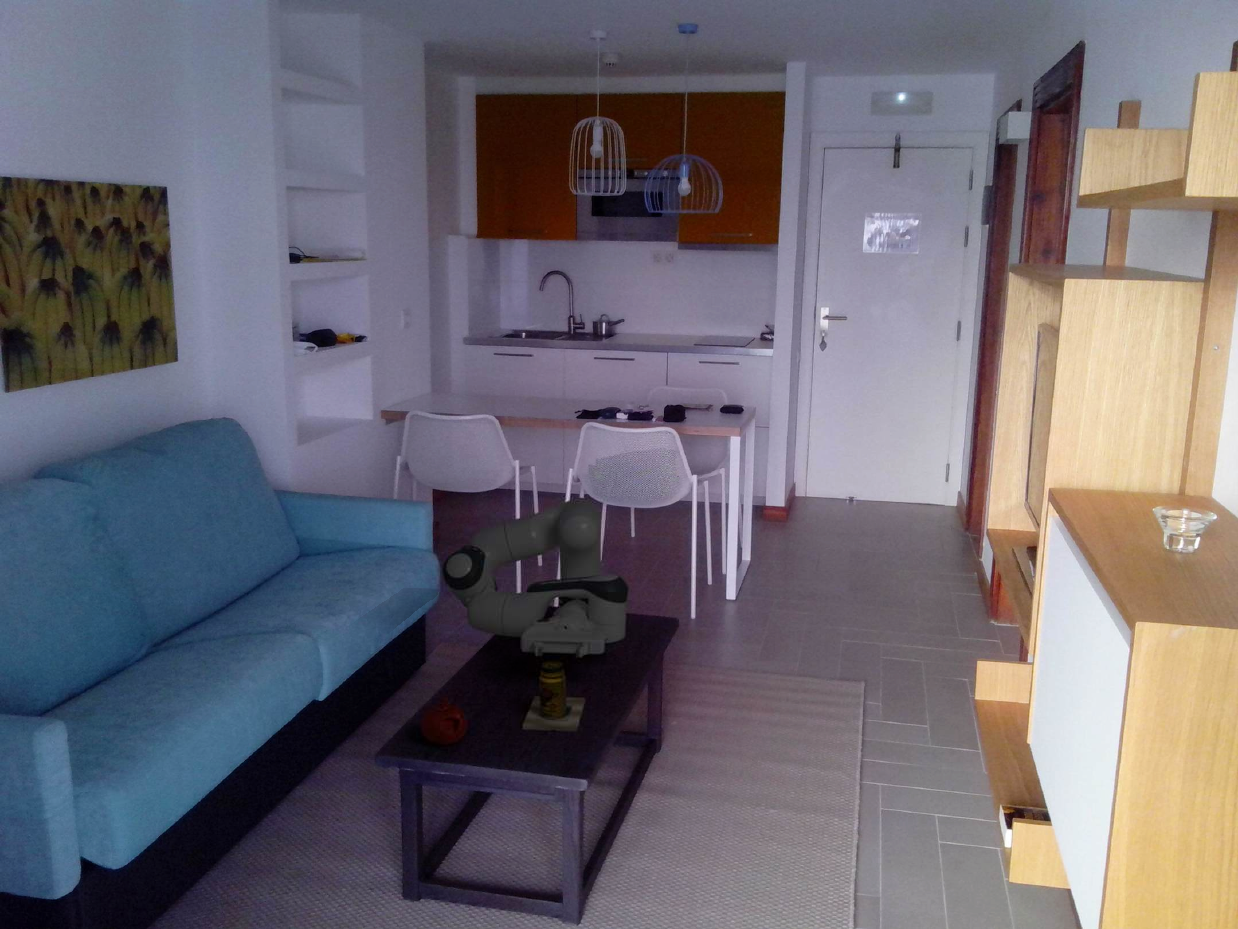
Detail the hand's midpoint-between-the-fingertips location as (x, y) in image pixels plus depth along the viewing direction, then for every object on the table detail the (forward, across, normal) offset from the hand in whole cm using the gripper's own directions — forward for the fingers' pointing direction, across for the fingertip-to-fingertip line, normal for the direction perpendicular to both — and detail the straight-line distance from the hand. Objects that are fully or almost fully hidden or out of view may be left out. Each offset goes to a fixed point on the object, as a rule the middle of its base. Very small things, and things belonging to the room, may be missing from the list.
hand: (558, 653), depth 244 cm
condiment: (+8, 0, -11) cm, 14 cm away
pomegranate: (+21, +22, -12) cm, 33 cm away
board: (+7, 0, -12) cm, 14 cm away
